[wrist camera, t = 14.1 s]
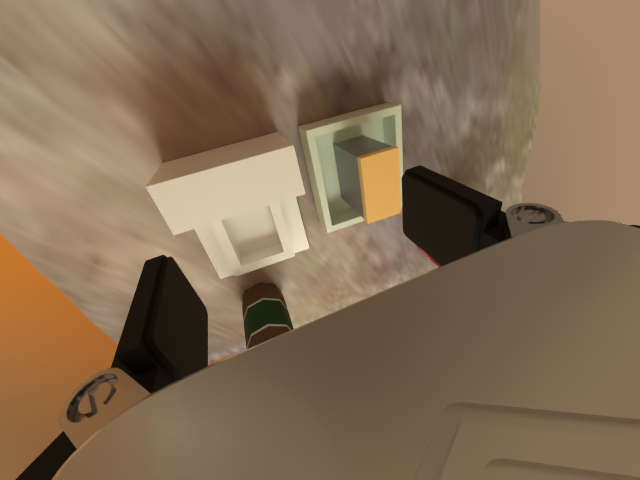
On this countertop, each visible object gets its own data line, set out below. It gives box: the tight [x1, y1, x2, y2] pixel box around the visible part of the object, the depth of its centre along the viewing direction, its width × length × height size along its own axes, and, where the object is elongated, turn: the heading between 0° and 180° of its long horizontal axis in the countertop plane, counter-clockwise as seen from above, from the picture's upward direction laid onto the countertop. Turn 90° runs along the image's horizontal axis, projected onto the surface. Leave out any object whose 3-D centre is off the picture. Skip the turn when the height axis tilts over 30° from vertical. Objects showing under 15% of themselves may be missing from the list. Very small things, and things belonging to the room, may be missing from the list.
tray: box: [298, 103, 403, 233], centre depth 43 cm, size 16×14×4 cm
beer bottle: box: [242, 283, 293, 349], centre depth 43 cm, size 8×8×24 cm
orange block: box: [333, 135, 401, 224], centre depth 40 cm, size 9×5×10 cm, turn 12°
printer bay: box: [146, 132, 309, 279], centre depth 39 cm, size 20×16×10 cm
